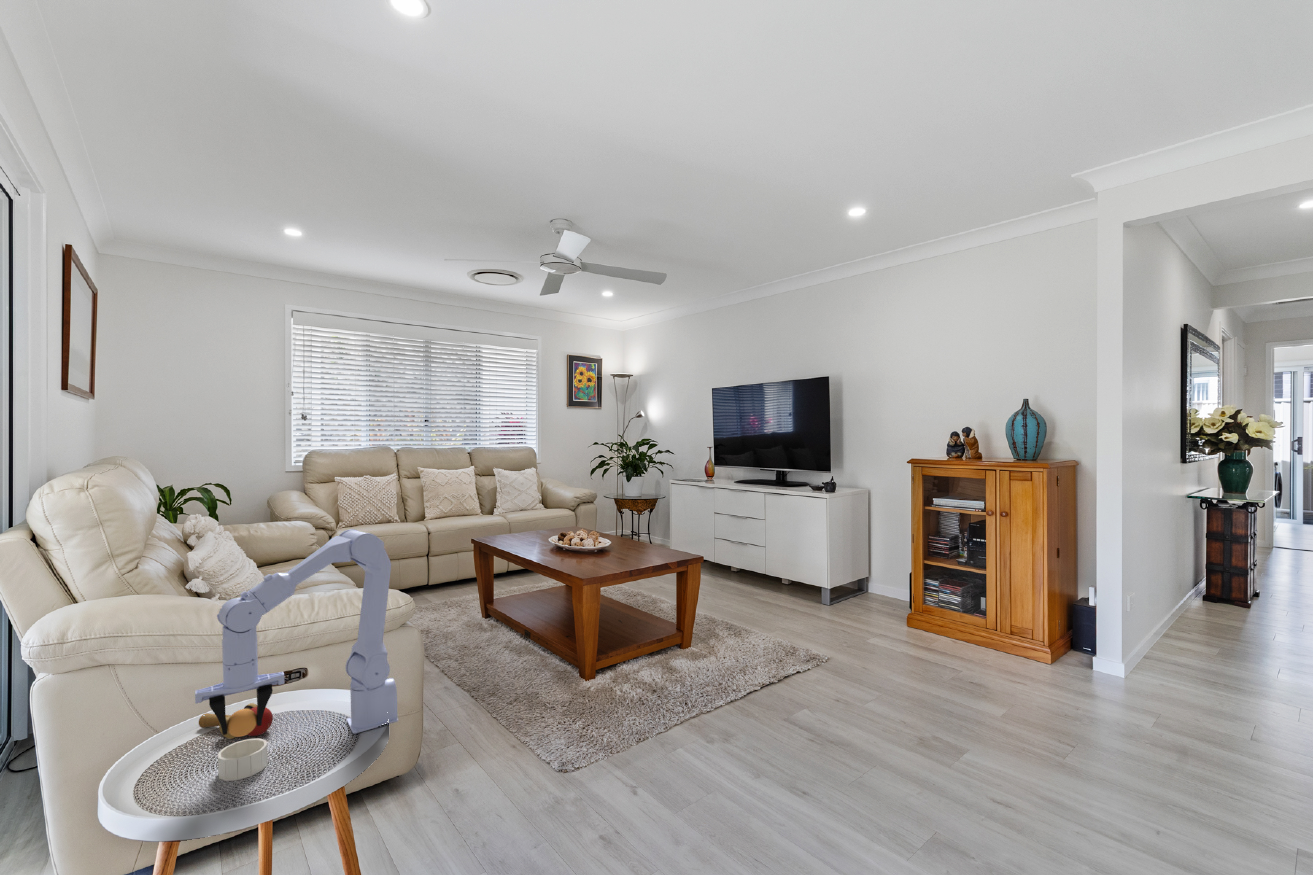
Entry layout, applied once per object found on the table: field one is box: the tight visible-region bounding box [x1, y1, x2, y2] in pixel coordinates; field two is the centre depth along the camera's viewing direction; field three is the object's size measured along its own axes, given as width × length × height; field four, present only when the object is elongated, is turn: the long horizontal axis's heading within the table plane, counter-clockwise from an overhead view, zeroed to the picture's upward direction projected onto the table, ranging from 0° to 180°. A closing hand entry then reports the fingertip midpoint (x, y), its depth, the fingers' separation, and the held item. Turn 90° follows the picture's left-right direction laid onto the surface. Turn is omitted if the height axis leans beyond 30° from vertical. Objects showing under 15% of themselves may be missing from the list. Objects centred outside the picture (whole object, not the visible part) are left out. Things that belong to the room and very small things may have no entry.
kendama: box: [198, 702, 274, 740], centre depth 136 cm, size 8×6×18 cm
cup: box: [217, 738, 269, 782], centre depth 121 cm, size 8×8×4 cm
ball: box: [227, 708, 257, 738], centre depth 121 cm, size 5×5×5 cm
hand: (242, 728), depth 121 cm, fingers closed on ball, 5 cm apart
